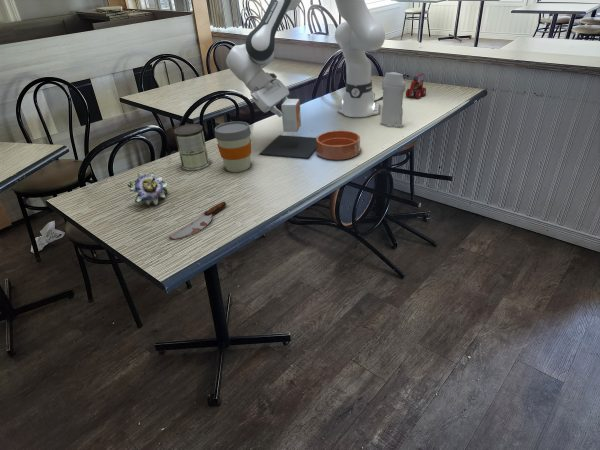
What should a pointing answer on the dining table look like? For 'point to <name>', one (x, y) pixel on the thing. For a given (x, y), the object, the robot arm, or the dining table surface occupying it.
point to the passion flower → (148, 188)
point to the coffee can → (191, 146)
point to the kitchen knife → (198, 222)
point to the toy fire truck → (416, 87)
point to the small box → (291, 115)
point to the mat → (291, 147)
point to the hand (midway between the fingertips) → (286, 111)
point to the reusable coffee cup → (234, 145)
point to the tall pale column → (392, 99)
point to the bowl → (338, 145)
